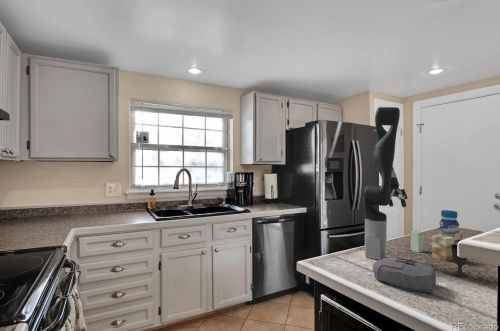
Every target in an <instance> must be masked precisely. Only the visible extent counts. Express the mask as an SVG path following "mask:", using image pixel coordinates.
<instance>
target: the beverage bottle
mask: <svg viewBox="0 0 500 331" xmlns="http://www.w3.org/2000/svg"><path fill="white" fill-rule="evenodd" d="M440 216H441V219H440V221H439V223H438V224H439V227H438V230H439V235H444V236H449V237H453V238H454V242H456V241H457V240H458V239H460V231H461V230H460V223H459V221H458V220H457V218H458V211H456V210H447V209H444V210H443V209H441V211H440Z"/></svg>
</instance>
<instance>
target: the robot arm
mask: <svg viewBox="0 0 500 331" xmlns="http://www.w3.org/2000/svg"><path fill="white" fill-rule="evenodd" d="M400 117H401V111H400V108H399V107H394V106H391V107H389V106H382V107H377V108H376V110H375V113H374V124H375V134H376V144H375V145H374V147H373V150H372V162H373V163H374V166H375V167H376V169H377V171H378V172H379V175H380V177H381V185H377V184H376V185H374V184H372V185H371V184H368V185H366V186H365V187H364V190H363V207H364V208H363V209H364V210H363V211H364V256H365V257H366V258H368V259H373V260H377V261H378V260H381V259H383V258H387V251H388V250H387V249H388V248H387V247H388V246H387V239H388V238H387V235H388V234H387V230H388V229H387V228H388V227H387V225H388V222H387V218H388V217H387V214H386V213H385V212H382V211H380V210H378V209H377V208H376V207H375V206H385V207H386V206H389V208H390V207H393V206H394V202H393V199H392V198H393V197H395V198H397V199H399V201H400V204H401V208H406V207H407V203H406V200H407V199H409V197H408V195H407V193H406V190H405V188H402V189H400V183H399V179H398V177H397V174H396V171H395V169H394V160H395V153H396V141H397V133H398V127H399V122H400ZM384 126H388V127H389V126H390V127H389V128H388V130H386V129H385V127H384Z"/></svg>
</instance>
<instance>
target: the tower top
mask: <svg viewBox="0 0 500 331" xmlns="http://www.w3.org/2000/svg"><path fill="white" fill-rule="evenodd" d="M453 244H454V238H453V237H449V236H444V235H440V234H437V235H436V234H435V235H431V246H433V247H436V248H440V249H444V250H449V249H451V248H450V246H451V245H453Z"/></svg>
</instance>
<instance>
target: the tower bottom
mask: <svg viewBox="0 0 500 331" xmlns="http://www.w3.org/2000/svg"><path fill="white" fill-rule="evenodd" d="M431 246H432V245H431ZM431 257H432V258H434V259H437V260H441V261H443V262H449V261H452V260H453V256H452V250H451V249H449V250H444V249H440V248H436V247H433V246H432V248H431ZM453 261H454V260H453Z"/></svg>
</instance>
